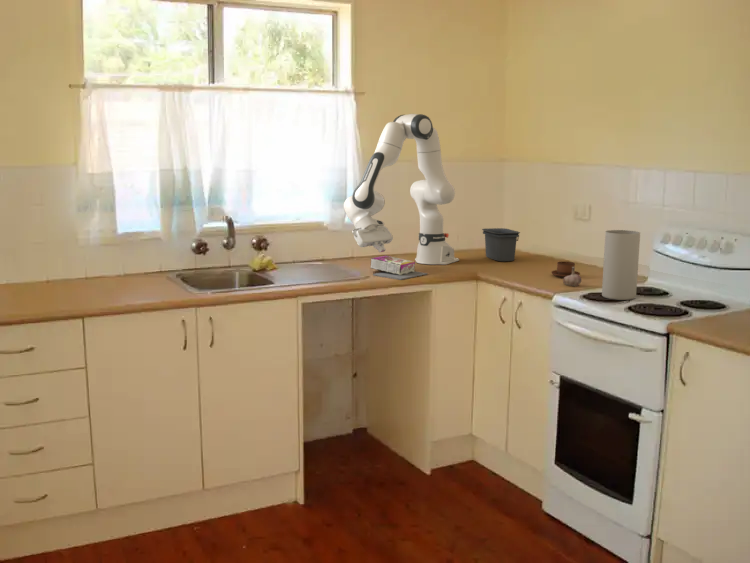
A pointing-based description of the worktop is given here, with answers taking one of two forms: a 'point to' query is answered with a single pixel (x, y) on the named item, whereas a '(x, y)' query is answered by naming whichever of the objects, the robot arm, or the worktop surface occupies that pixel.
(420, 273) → the rubber mat
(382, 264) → the candy bar box
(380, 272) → the walnut kerb
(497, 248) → the storage bin
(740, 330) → the worktop surface
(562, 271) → the cup and saucer
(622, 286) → the cylinder vase
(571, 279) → the garlic bulb
